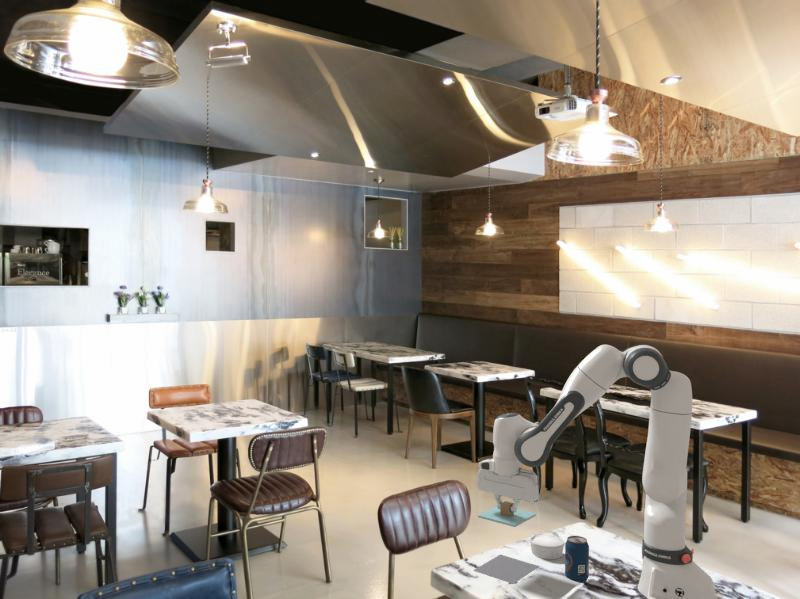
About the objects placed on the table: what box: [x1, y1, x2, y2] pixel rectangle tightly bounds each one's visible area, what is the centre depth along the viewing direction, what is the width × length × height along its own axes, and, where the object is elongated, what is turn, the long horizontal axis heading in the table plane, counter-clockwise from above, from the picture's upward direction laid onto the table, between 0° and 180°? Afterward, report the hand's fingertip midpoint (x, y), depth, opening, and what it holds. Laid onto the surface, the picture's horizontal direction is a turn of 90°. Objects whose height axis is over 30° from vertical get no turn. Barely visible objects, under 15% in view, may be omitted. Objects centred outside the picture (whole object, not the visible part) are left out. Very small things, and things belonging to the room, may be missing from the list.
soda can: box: [564, 535, 590, 584], centre depth 195 cm, size 7×7×12 cm
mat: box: [473, 554, 540, 585], centre depth 200 cm, size 14×16×1 cm
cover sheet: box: [477, 500, 537, 528], centre depth 200 cm, size 13×13×4 cm
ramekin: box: [529, 533, 565, 560], centre depth 212 cm, size 11×11×5 cm
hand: (507, 510), depth 200 cm, fingers closed on cover sheet, 3 cm apart
